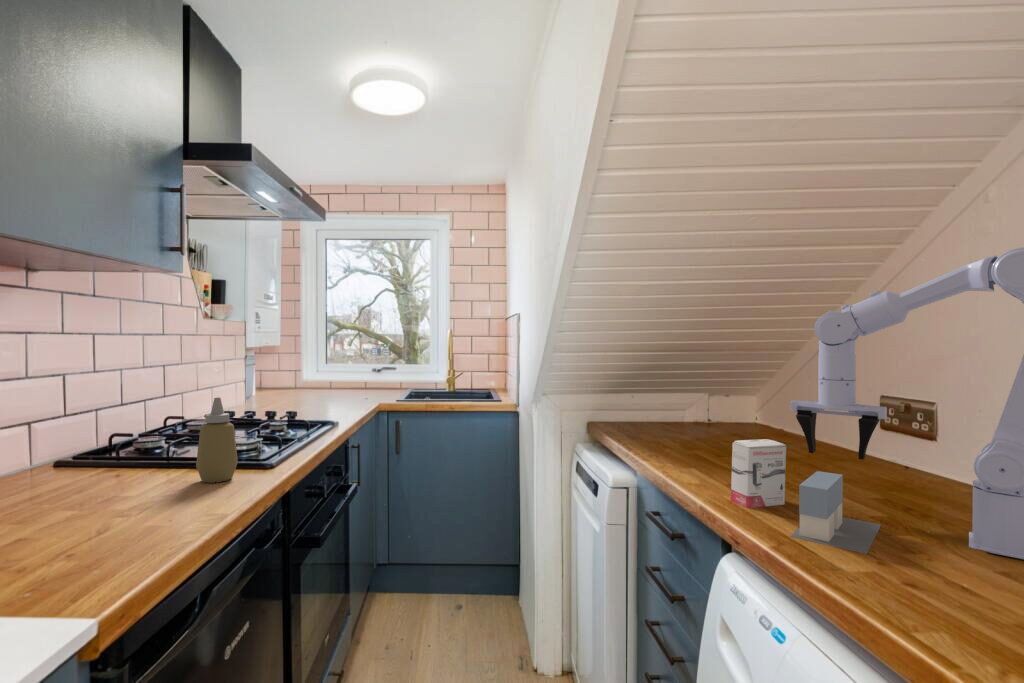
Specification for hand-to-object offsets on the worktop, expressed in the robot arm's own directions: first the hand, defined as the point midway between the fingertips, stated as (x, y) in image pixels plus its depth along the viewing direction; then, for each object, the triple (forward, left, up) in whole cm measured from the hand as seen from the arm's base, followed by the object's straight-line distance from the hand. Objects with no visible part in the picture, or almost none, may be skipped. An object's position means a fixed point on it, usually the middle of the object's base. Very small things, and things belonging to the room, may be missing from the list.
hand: (836, 455), depth 94 cm
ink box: (+12, +4, -11) cm, 17 cm away
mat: (-2, +11, -10) cm, 15 cm away
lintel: (0, +12, -6) cm, 14 cm away
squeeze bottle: (+106, +65, -11) cm, 125 cm away
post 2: (0, +9, -10) cm, 13 cm away
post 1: (0, +16, -10) cm, 18 cm away
